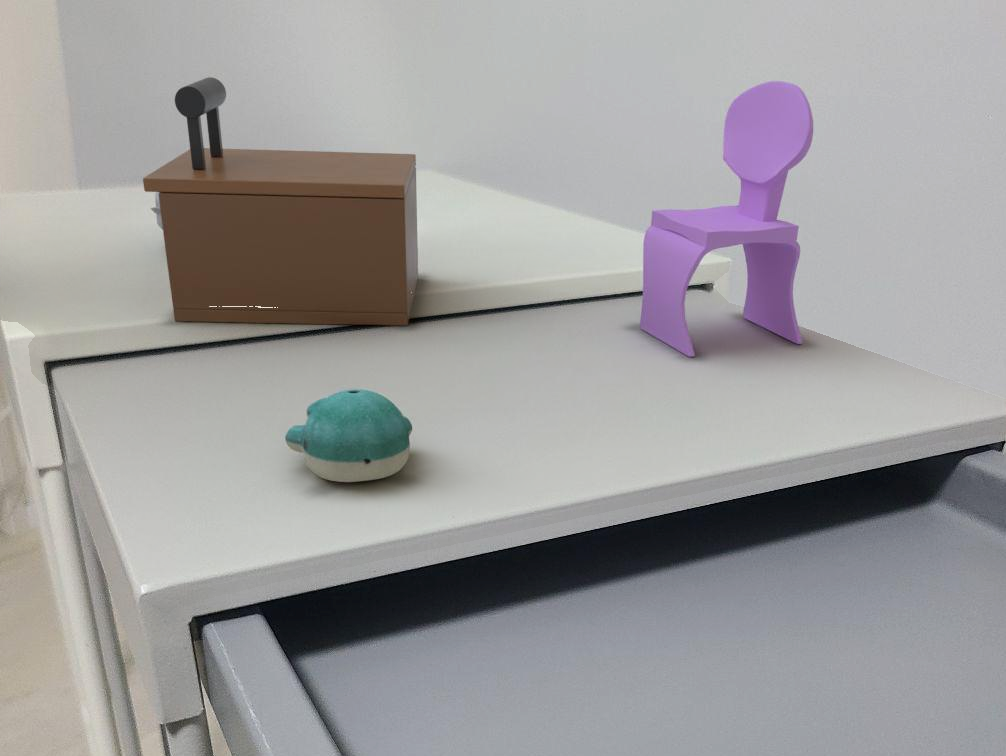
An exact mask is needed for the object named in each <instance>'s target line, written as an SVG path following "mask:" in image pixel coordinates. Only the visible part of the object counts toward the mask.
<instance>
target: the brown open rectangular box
mask: <svg viewBox="0 0 1006 756" xmlns="http://www.w3.org/2000/svg"><path fill="white" fill-rule="evenodd" d="M158 195H159V203H160V211H161V218H162V226H163V230H162V233H163V241H164V248H165V249H164V250H165V255H166V256H165V257H166V265H167V271H168V278H169V279H168V280H169V287H170V294H171V295H170V296H171V303H172V308H173V310H172V312H173V318H174V321H175V322H195V323H196V322H198V323H199V322H203V323H249V324H250V323H251V324H253V323H254V324H296V325H297V324H300V325H302V324H303V325H352V326H398V327H399V326H401V327H402V326H403V327H405V326H406V327H407V326H409V321H410V317H411V313H412V312H411V311H412V307H413V302H414V297H415V294H416V288H417V284H418V279H419V267H418V266H419V254H418V253H419V252H418V251H419V250H418V249H419V248H418V203H417V202H418V200H417V199H418V198H417V167H416V166H415V169H414V172H413V175H412V178H411V180H410V183H409V186H408V189H407V192H406V195H405V198H367V197H329V196H291V195H253V194H215V193H177V192H160V193H159V194H158ZM411 292H412V293H411ZM209 306H217V307H209ZM219 306H220V307H219ZM222 306H247V307H222ZM249 306H253V307H249ZM255 306H261V307H273V308H258V307H255ZM274 307H276V308H274ZM277 307H278V308H277Z"/></svg>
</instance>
